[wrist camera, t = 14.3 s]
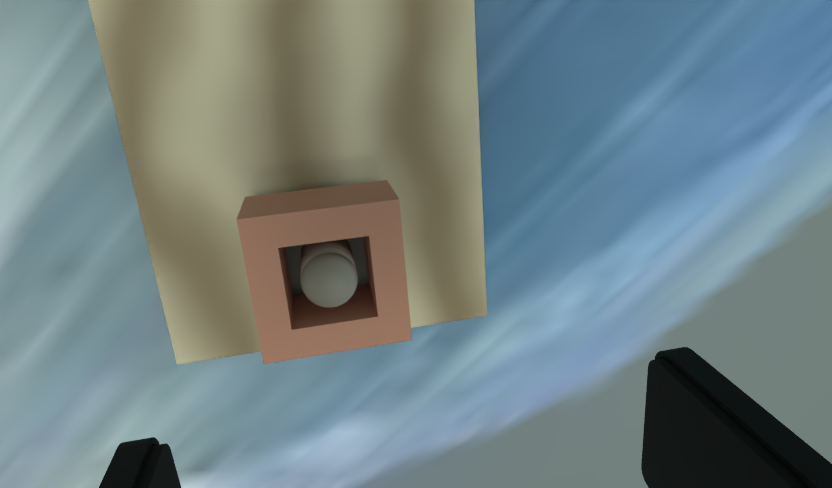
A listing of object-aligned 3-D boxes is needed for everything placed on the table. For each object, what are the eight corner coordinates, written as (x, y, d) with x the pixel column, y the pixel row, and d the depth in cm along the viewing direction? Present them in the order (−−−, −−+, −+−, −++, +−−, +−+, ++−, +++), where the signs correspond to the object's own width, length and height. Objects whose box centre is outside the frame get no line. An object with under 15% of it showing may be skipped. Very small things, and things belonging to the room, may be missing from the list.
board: (453, -288, 27) (528, -454, 18) (480, 305, 37) (536, 387, 28) (29, -289, 24) (-129, -484, 15) (182, 351, 34) (140, 458, 25)
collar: (387, 179, 29) (399, 199, 26) (399, 305, 32) (412, 339, 28) (245, 196, 28) (236, 219, 25) (268, 325, 31) (263, 363, 27)
